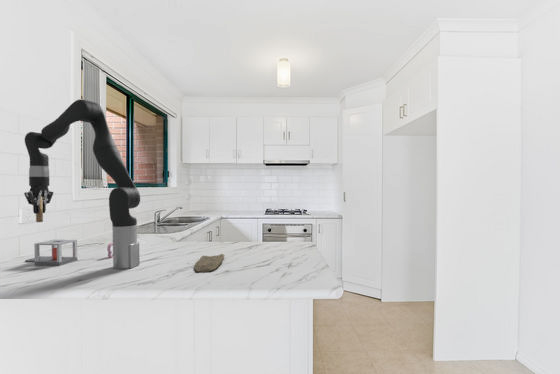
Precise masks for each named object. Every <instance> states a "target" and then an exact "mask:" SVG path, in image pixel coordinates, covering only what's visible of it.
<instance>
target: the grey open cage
mask: <svg viewBox="0 0 560 374" xmlns="http://www.w3.org/2000/svg"><path fill="white" fill-rule="evenodd" d="M67 244H72V256H63V255H62V252H63V250H62V247H63V246H62V245H67ZM40 246H51V249H52V248H56V247H57V260H53V256H52V255H51V256H52V257H51V258H47V259H43V260H40ZM34 258H35V262H34V266H57V267H59V266H60V267H61V266H63V265H67V264H69V263H72V262H76V261H78V239H51V240H46V241H45V240H44V241H40V242H35V243H34Z"/></svg>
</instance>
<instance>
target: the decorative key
mask: <svg viewBox="0 0 560 374" xmlns="http://www.w3.org/2000/svg"><path fill="white" fill-rule="evenodd" d="M111 247H113V242H110V243H108V245H107V252H108V253H107V257H108V258H110V259H111V258H112V259H113V251H111Z"/></svg>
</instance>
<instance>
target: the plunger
mask: <svg viewBox="0 0 560 374" xmlns="http://www.w3.org/2000/svg"><path fill="white" fill-rule="evenodd" d="M51 256H53V260H57V246H56V248H52V247H51Z"/></svg>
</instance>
